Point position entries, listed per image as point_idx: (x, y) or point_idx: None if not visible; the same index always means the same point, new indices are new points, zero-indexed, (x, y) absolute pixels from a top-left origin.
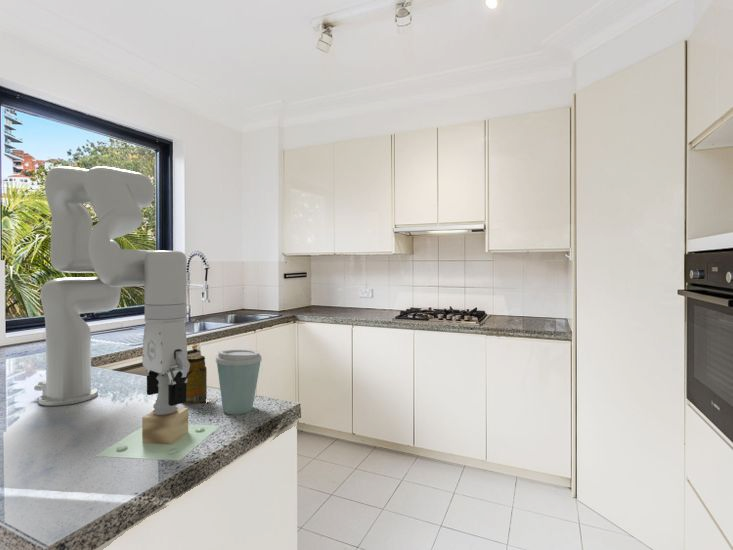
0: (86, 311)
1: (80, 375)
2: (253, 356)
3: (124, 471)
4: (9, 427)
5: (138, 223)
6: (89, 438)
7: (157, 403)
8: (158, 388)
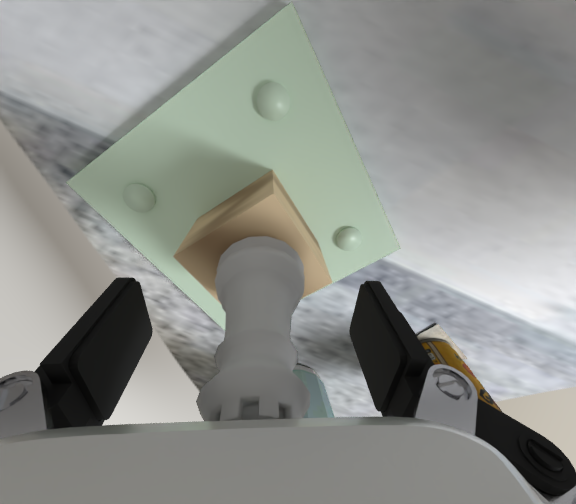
0: None
1: None
2: None
3: (128, 42)
4: None
5: None
6: (483, 83)
7: (253, 266)
8: (358, 330)
